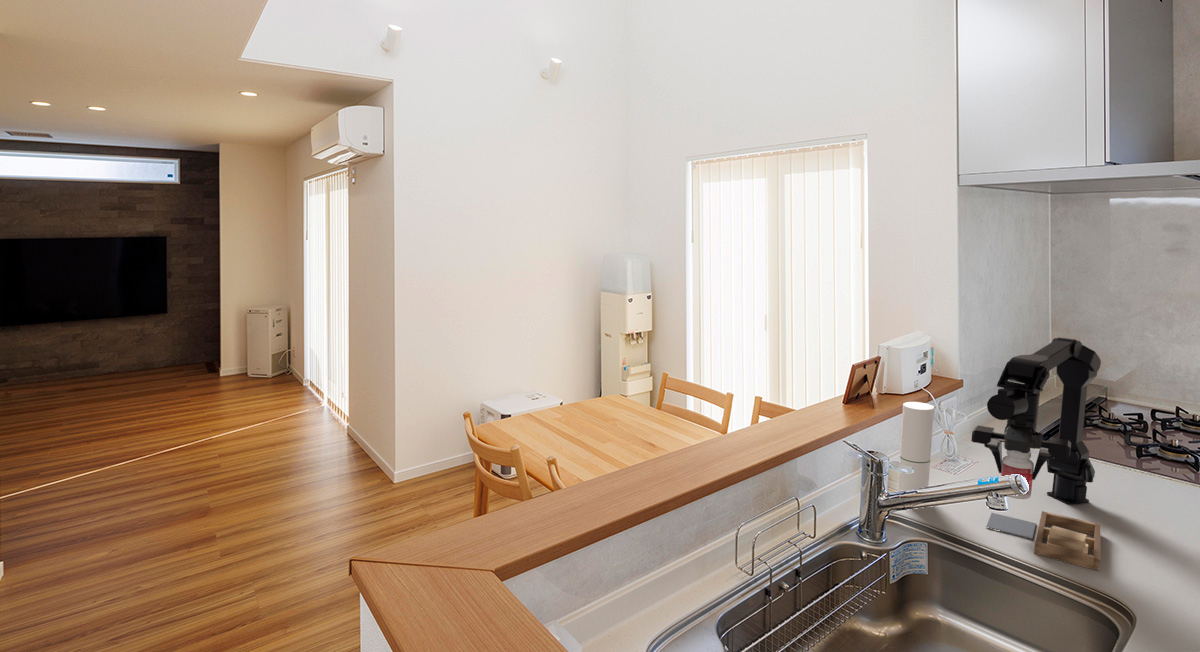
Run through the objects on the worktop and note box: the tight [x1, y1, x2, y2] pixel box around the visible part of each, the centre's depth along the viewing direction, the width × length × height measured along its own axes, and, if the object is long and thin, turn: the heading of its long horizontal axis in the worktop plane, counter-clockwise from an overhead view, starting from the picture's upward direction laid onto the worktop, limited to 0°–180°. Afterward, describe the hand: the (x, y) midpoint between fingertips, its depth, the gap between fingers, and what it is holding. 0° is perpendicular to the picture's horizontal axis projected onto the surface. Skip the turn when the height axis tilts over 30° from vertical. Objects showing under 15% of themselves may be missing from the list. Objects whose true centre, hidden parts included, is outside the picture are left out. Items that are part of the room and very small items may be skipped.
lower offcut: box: [1046, 535, 1089, 555], centre depth 133 cm, size 7×5×2 cm
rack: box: [1033, 510, 1102, 572], centre depth 137 cm, size 11×19×2 cm, turn 141°
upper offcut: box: [1048, 525, 1088, 553], centre depth 133 cm, size 6×4×2 cm, turn 45°
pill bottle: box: [1000, 450, 1035, 500], centre depth 143 cm, size 6×6×11 cm
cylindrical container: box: [897, 401, 935, 492], centre depth 160 cm, size 7×7×25 cm
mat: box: [985, 512, 1037, 540], centre depth 145 cm, size 9×9×1 cm
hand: (1016, 476), depth 143 cm, fingers closed on pill bottle, 6 cm apart
